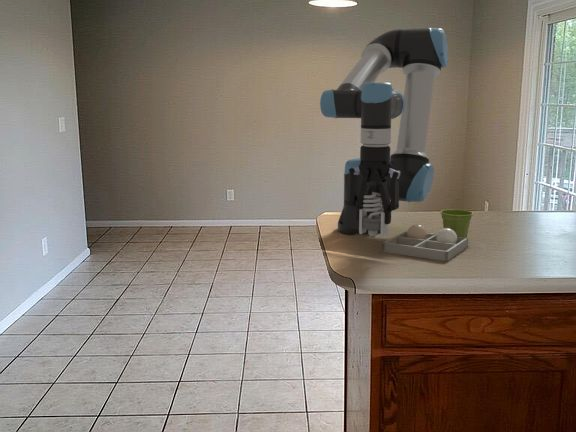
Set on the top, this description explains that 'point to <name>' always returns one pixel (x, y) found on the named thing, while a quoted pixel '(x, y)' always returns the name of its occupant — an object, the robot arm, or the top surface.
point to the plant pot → (457, 221)
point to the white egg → (446, 236)
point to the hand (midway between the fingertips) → (373, 234)
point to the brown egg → (417, 232)
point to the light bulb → (373, 214)
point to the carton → (424, 247)
